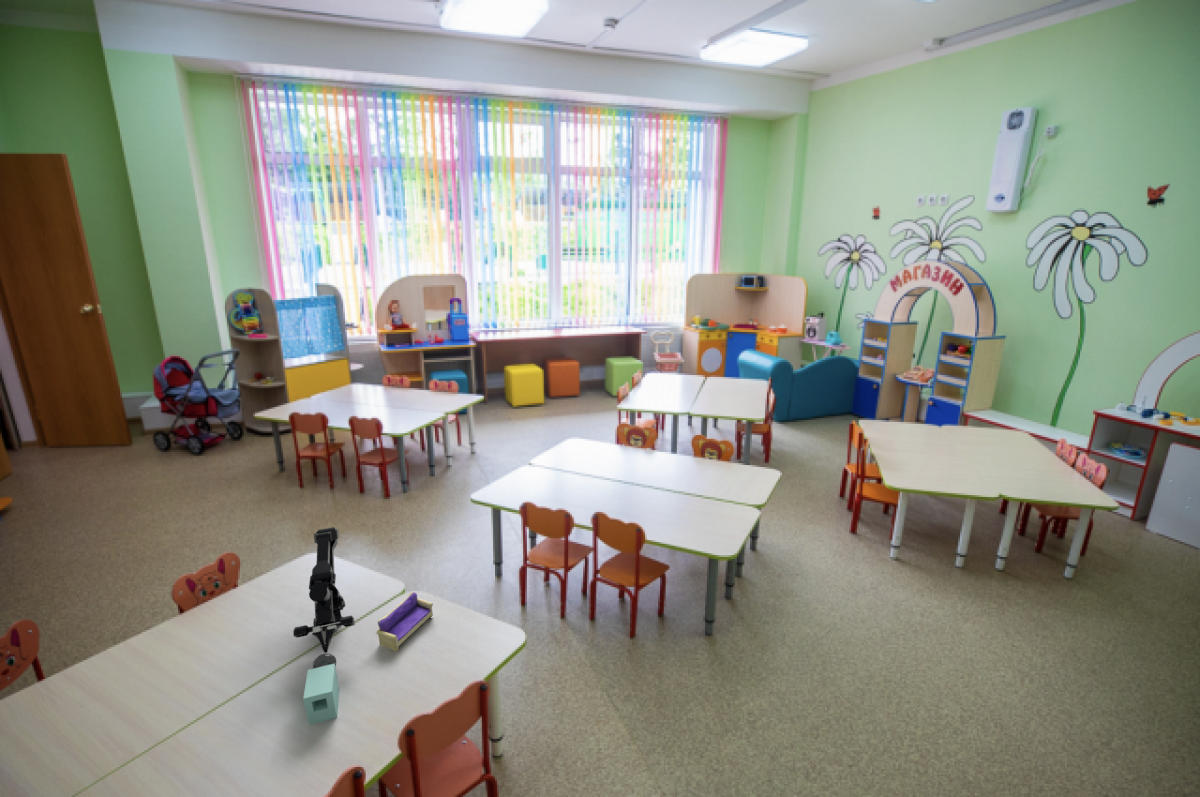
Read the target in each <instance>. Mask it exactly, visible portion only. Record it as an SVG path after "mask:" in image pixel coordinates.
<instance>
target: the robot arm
mask: <svg viewBox="0 0 1200 797" xmlns="http://www.w3.org/2000/svg"><path fill="white" fill-rule="evenodd" d="M339 538H340V533H339V529H338V528H337V529H336V527H335V526H333V527H332V526H331V527H327V528H320V529H317V531H316V532H314V533H313V541H314V544H317V546H316V563H315V565H314V566H313V568H312V570H311V575H310V577H309V581H308V582H309V583H308V590H309V592H308V596H309V597H308V598H310V600H311V601H313V602H314V618H313V621H312V622H313V624H312V625H311V626H308V625H307V624H305V625H301V626H300V625H299V626H296V627H294V629H293V631H292V632H293V635H292V636H293V637H295V638H303V637H307V636H308V635H309V634H310V633H311V636H314V637H316V638H317V640H318V642H319V643H320V646H321V648H322V651H323V654H328V652H329V647H330V644H331V640H332V638H333V636H334V634H335V633H336V632H338V629H337V628H338V627H340V626H343V627H344V628H348V627H352V626H355V618H354V616H352V615H347V616H342V611H343V610H344V608H345V607H346V602H345V600H344V597H343V596H342V595H341V593H340V591H339V589H338V588H337V587H336V580H337V575H336V573H335V557H334V556H335V555H334V554H335V552H334V550H335V548H336V547H337V545H338V542H339Z"/></svg>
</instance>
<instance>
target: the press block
mask: <svg viewBox="0 0 1200 797" xmlns="http://www.w3.org/2000/svg"><path fill="white" fill-rule="evenodd" d="M304 685H305V687H304V690H303V691H304V692H303V698H302V700H303V704H304V708H305V712H306V713H305V714H306V717H307V722H308V726H310V725H313V724H318V723H323V722H326V721H330V720H333V719H337V718H338V712H339V699H340V684H339V679H338V673H337V668H336V667H335V664H331V665H326V666H322V667H318V668H314V669H313V668H310V669H307V672H306V680H305V684H304Z"/></svg>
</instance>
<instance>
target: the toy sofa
mask: <svg viewBox="0 0 1200 797" xmlns="http://www.w3.org/2000/svg"><path fill="white" fill-rule="evenodd" d="M433 604H434V603H432V602H430V601H427V600H425V599H421V598H419V597H418V594H417V592H414V591H411V592H410V593H409V594H408V595H407V597H406V598H404V599H403V600H402V601H401V602H400V603H399V604H398V605H397V606H396V607H394V608H393V609H392V610H391V611H389V613H387V614H386V615H385V616H384V617H382V618H379V619H378V621H377V625H378V627H379V629H377V630H376V632H375V633H376V635H377V636H378V641H379V642H378V643H379V645H380V646H382V647H385V648H387V649H390V650H393V651H394V652H395V651H396V652H398V651H399V647H400V646H401V644H403V643H404V642H405V641H406V640H407V639H408V638H409V637H410V636H411V635H412V634H414V632H415V631H417V629H418V628H419V627H420V626H422V624H424V623H425V622H426V621H427V620H428V619H430V618H429V617H432V616H433V617H434V615H433V614H434V613H433Z"/></svg>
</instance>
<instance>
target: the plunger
mask: <svg viewBox="0 0 1200 797" xmlns="http://www.w3.org/2000/svg"><path fill="white" fill-rule="evenodd" d="M312 664H313V665H312V669H314V668H318V667H322V666H326V665H331V664H335V667H336V666H337V658H336V656H335V655H334V654H331V653H322V654H319V655H317V656H316V657H315V658H314V660H313V663H312Z"/></svg>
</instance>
